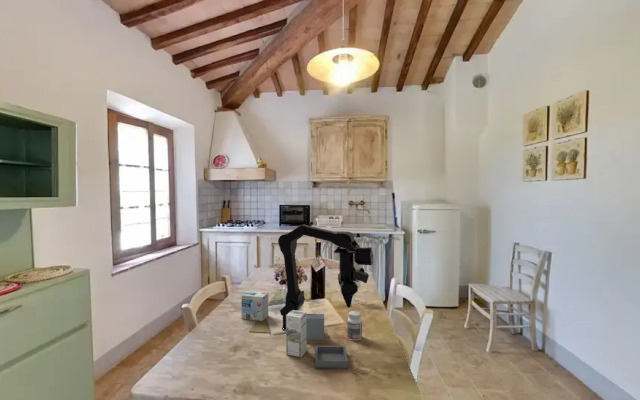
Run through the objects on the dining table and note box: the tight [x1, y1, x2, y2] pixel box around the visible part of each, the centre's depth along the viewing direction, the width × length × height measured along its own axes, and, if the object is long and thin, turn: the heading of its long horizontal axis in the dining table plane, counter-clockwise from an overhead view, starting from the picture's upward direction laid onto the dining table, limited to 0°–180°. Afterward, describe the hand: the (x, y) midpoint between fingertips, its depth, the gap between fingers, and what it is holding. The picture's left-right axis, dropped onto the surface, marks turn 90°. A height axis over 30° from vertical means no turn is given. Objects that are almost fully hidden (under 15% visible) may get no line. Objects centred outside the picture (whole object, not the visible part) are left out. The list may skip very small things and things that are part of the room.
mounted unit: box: [306, 313, 329, 344], centre depth 129 cm, size 11×7×9 cm, turn 90°
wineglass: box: [351, 280, 362, 305], centre depth 170 cm, size 7×7×12 cm
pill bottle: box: [346, 310, 363, 342], centre depth 130 cm, size 6×6×10 cm
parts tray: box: [314, 345, 349, 370], centre depth 113 cm, size 11×11×2 cm
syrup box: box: [285, 310, 308, 358], centre depth 117 cm, size 6×6×14 cm
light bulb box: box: [240, 290, 269, 322], centre depth 150 cm, size 11×7×11 cm, turn 74°
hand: (347, 303), depth 131 cm, fingers open, 9 cm apart
